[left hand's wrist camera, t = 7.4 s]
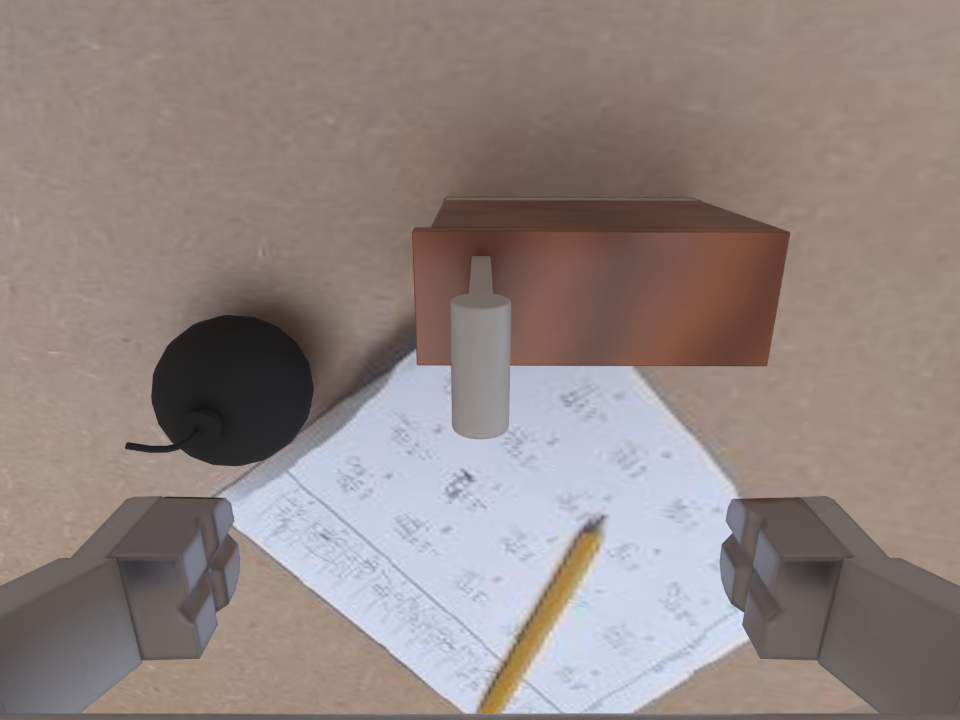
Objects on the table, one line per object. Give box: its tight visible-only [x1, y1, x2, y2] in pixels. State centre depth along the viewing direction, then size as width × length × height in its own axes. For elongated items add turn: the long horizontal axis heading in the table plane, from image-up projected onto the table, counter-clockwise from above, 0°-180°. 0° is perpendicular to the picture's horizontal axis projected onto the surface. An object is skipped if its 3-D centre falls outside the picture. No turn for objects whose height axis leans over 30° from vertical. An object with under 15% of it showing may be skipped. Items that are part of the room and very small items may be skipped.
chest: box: [431, 197, 777, 228], centre depth 30 cm, size 13×5×10 cm, turn 90°
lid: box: [412, 228, 790, 439], centre depth 21 cm, size 14×5×9 cm, turn 90°
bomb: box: [125, 315, 314, 466], centre depth 31 cm, size 8×8×12 cm
